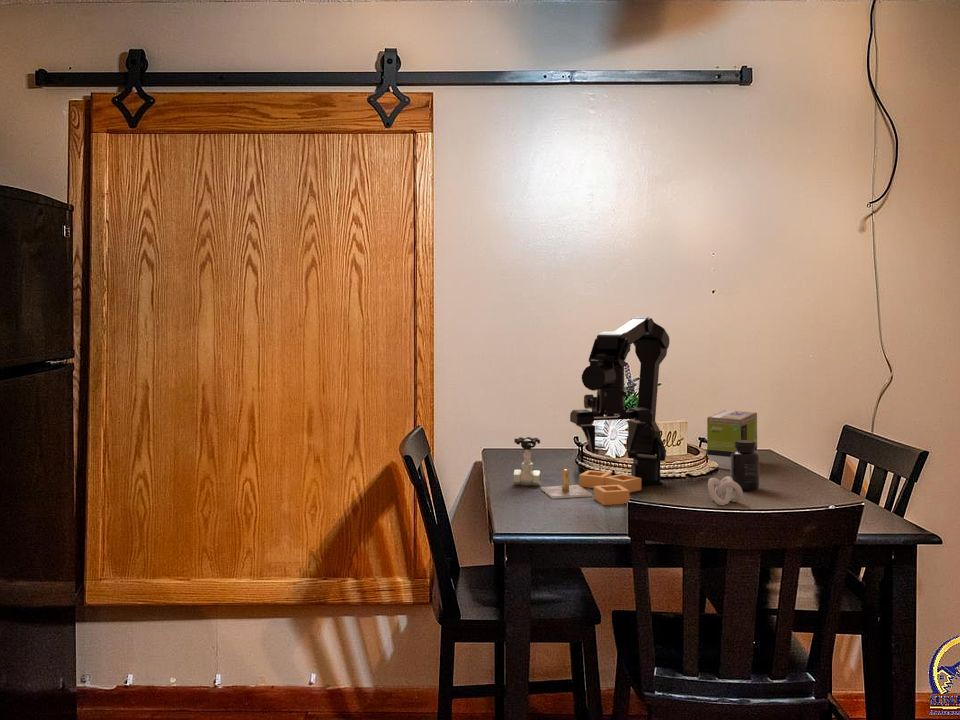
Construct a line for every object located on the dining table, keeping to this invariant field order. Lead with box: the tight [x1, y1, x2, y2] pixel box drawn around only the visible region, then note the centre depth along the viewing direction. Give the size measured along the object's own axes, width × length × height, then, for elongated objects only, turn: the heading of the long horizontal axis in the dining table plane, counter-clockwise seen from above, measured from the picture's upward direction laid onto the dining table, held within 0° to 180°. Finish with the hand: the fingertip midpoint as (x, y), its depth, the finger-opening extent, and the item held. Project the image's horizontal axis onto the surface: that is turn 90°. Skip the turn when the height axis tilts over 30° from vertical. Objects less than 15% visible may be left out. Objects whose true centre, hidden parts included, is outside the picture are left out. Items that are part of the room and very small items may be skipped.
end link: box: [593, 485, 631, 506], centre depth 190 cm, size 6×6×3 cm
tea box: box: [706, 410, 758, 471], centre depth 230 cm, size 15×10×15 cm, turn 144°
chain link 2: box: [605, 473, 642, 493], centre depth 201 cm, size 6×6×3 cm
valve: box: [513, 436, 542, 487], centre depth 206 cm, size 7×7×12 cm
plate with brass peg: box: [539, 468, 593, 500], centre depth 198 cm, size 10×10×6 cm
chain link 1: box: [578, 469, 613, 489], centre depth 206 cm, size 6×6×3 cm
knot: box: [707, 475, 744, 505], centre depth 188 cm, size 8×8×6 cm
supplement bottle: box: [730, 440, 760, 492], centre depth 201 cm, size 7×7×12 cm
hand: (611, 452), depth 189 cm, fingers open, 9 cm apart
